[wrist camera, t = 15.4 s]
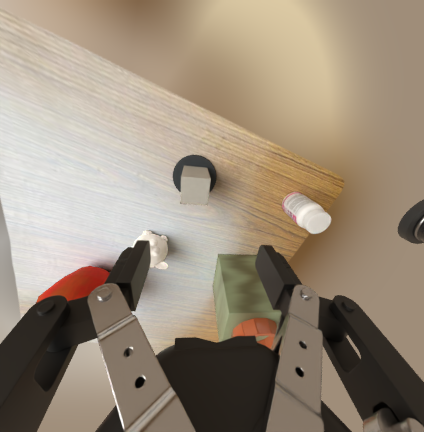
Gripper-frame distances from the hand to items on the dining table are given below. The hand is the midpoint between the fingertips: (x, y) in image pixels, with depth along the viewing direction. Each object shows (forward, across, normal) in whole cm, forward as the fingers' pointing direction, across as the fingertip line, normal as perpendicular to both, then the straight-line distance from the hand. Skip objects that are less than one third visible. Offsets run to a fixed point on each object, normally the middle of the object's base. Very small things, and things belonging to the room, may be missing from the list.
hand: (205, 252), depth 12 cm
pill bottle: (+21, -19, +4) cm, 29 cm away
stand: (+20, -11, +23) cm, 33 cm away
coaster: (+20, +1, 0) cm, 20 cm away
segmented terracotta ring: (+6, -11, +23) cm, 27 cm away
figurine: (+20, +9, +15) cm, 27 cm away
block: (+20, +1, 0) cm, 20 cm away
